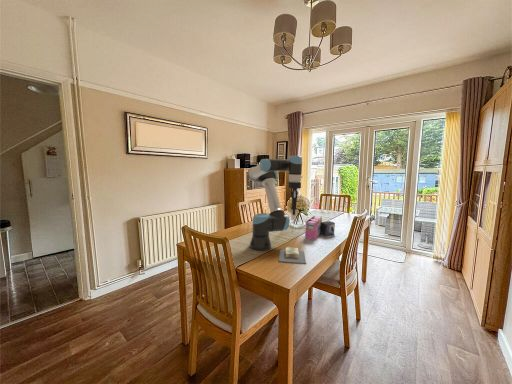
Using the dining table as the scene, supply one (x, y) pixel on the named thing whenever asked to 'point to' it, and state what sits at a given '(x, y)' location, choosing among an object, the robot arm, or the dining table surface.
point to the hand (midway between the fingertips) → (293, 219)
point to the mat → (290, 259)
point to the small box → (327, 228)
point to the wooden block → (292, 252)
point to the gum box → (313, 227)
